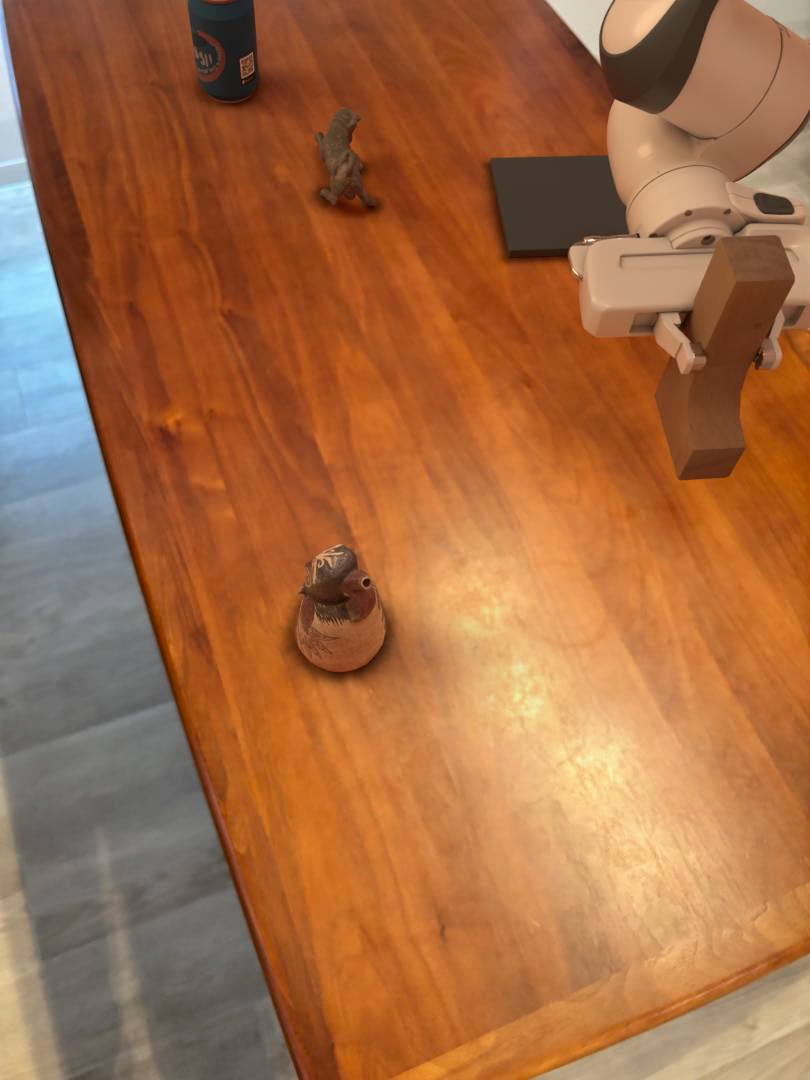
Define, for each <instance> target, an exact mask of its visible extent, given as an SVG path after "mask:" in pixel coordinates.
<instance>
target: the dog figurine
mask: <svg viewBox="0 0 810 1080" xmlns="http://www.w3.org/2000/svg"><path fill="white" fill-rule="evenodd" d="M361 120H362V117H361V116H360V114H358V112H357V111H356V110H354V109H351V108H349V107H346V106H341V107H340V109H338V110H337V111H336V112H335V113H334V115H332V118H331V120H330V122H328V123H329V124H328V128H327V129H326V132H325V134H324V133H323V132H322V131H317V132H315V133H314V140H315V142H316V143H317V144H318V152H319V156H320V158H321V160H322V162H323V163H324V165H325V168H326V170H327V172H328V174H329V175H330V177H329V180H328V183H329V188H330V189H329V188H328V187H323V189H321V190H320V192H319V195H320V197H323V198H324V199H325V200H326V201H327V202H329V203H330V205H332V206H334V207H335V206H336V205H338V203H339V201H340V198H341V197H342V196H343V197H344V198H345V199H347V200H348V201H352V200H354V199H355V197H356V196H357V197H358V198H359V199H360V200H361V202H362V203H363V204H364V205H366V206H368V207H376V206H377V205H378V203H377V199H375V198H373V197H371V196H370V195H369V194H368V192H367V191H366V187H365V184H364V181H363V177H362V175H361V172H360V171H361V170H362V169H363V167H364V165H363V163H362V162H361V159H360V156H359V154H358V153H357V152H355V151H354V149H353V148H352V147H351V143H352V141H353V133H354V131H355V129H357V126H358V123H359V122H360V121H361Z"/></svg>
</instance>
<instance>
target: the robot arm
mask: <svg viewBox="0 0 810 1080" xmlns="http://www.w3.org/2000/svg"><path fill="white" fill-rule="evenodd" d="M600 25H601V26H600V30H599V35H598V54H599V55H598V56H599V62H600V63H599V64H600V69H601V72H602V75H603V79H604V82H605V84H606V88H607V90H608V92H609V94H610V95H611V96H612V98H613V99H614V100H613V103H612V104H611V107H610V110H609V113H608V114H609V115H608V117H607V124H606V125H607V126H606V150H607V155H608V157H609V163H610V167H611V172H612V175H613V179H614V183H615V186H616V190H617V193H618V195H619V197H620V199H621V201H622V202H623V203H624V205H625V206H626V207H627V209H626V222H627V227H628V230H629V234H627V235H615V236H608V237H600V236H588V237H584V238H583V239H582V241H581V242H578V243H575V244H574V245H572V246H571V247H570V249H569V251H568V255H567V260H568V264H569V269H570V272H571V274H572V275H573V277H574V278H575V279H577V280H578V281H579V282H578V300H579V302H578V303H579V312H580V319H581V325H582V328H583V330H585V331H586V332H587V333H588V334H590V335H591V336H592V337H593V338H596V339H608V338H630V337H652V336H654V339H655V343H656V345H658V346H659V347H660V348H662V349H663V350H664V351H665V352H666V353H668V355H670V356H672V357H673V358H676V360H677V363H678V366H679V370H680V373H681V374H693V373H702V371H703V369H702V368H703V367H704V366H705V364H706V355H705V353H704V352H703V349H704V348H703V347H702V344H701V342H691V341H690V340H689V339H688V338H687V337H686V336H685V335H684V334H683V332H684V329H683V325H684V323H685V320H686V318H687V316H688V313H689V311H693V309H694V299H695V296H696V294H697V292H698V289H699V287H700V284H701V282H702V280H703V277H704V275H705V273H706V270H707V268H708V265H709V263H710V261H711V258H712V256H713V253H714V251H715V249H716V246H717V244H718V241H719V240H720V239H721V238H722V237H734V236H763V235H776V236H778V237H779V238H780V239H781V242H782V245H783V247H784V250H785V252H786V255H787V257H788V260H789V262H790V265H791V268H792V270H793V273H794V275H795V282H794V284H793V286H792V288H791V290H790V292H789V294H788V296H787V298H786V299H785V301H784V303H783V305H782V307H781V309H780V311H779V313H778V315H777V317H776V318H775V320H774V322H773V324H772V326H771V328H770V330H769V332H768V334H767V335H766V337H765V339H764V341H763V343H762V345H761V347H760V349H759V351H758V352H757V354H756V356H755V358H754V360H753V362H752V363H754V365H753V366H754V369H755V370H756V371H773V370H777V369H778V367H779V365H780V363H781V362H782V361H783V352H782V348H781V346H780V343H779V338H780V335H781V332H782V331H783V330H802V329H810V228H809V227H807V226H805V222H806V219H807V216H808V210H807V208H806V206H805V204H804V203H803V202H802V201H801V200H799V199H797V198H794V197H790V196H784V195H779V194H774V193H770V192H765V191H762V190H758V189H754V188H751V187H749V186H746V185H743V184H741V183H739V181H741V180H743V179H745V178H747V177H748V176H749V175H751V174H752V173H754V172H755V171H757V170H758V169H760V168H761V167H762V166H764V165H765V164H767V163H769V161H770V160H772V159H773V158H775V157H776V156H778V155H779V154H780V153H782V152H783V151H784V150H786V148H787V147H789V146H790V145H791V144H792V143H793V142H794V141H795V140H796V139H797V138H798V136H799V135H800V134H801V133H802V132H803V131H804V129H805V128H806V126H807V125H808V123H809V122H810V42H808V41H806V40H805V39H804V38H802V37H801V36H800V35H798V34H797V33H795V32H794V31H793V30H791V29H790V28H789V27H787V26H786V25H784V24H783V23H781V22H780V21H778V20H777V19H776V18H774V17H772V16H770V15H768V14H765V13H764V12H762V11H761V10H760V9H758V8H757V7H755V6H753V5H752V4H751V3H749V2H747V1H746V0H612V1H611V3H610V5H609V7H608V8H607V10H606V11H605V15H604V17H603V19H602V22H601V24H600Z"/></svg>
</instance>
